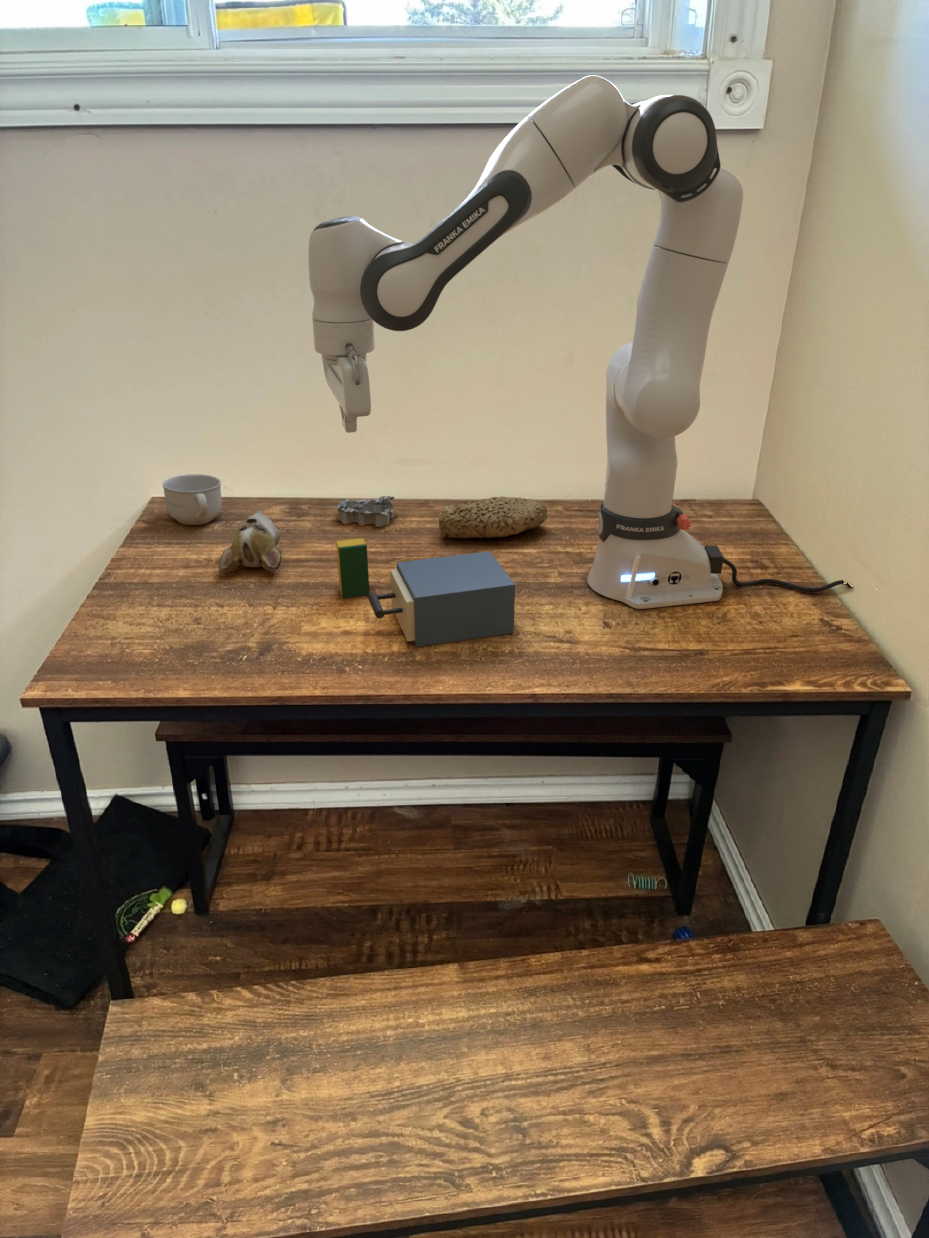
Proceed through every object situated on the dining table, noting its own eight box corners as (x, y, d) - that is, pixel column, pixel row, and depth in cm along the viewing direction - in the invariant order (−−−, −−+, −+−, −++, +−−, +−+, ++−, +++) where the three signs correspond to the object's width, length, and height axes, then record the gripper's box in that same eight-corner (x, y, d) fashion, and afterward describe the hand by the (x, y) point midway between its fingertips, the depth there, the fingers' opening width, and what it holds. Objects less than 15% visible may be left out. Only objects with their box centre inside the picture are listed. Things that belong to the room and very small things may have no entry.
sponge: (441, 551, 164) (547, 536, 161) (433, 511, 162) (541, 494, 158) (452, 536, 177) (551, 521, 173) (445, 497, 174) (544, 481, 171)
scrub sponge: (366, 586, 149) (363, 537, 145) (369, 595, 146) (366, 545, 142) (339, 590, 148) (336, 541, 144) (342, 598, 145) (339, 548, 141)
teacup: (168, 512, 177) (162, 474, 174) (223, 506, 180) (218, 469, 176) (169, 539, 166) (162, 499, 162) (228, 532, 169) (223, 493, 165)
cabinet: (416, 647, 132) (415, 597, 128) (398, 609, 142) (396, 562, 138) (513, 633, 136) (515, 584, 131) (489, 597, 146) (490, 551, 142)
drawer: (380, 645, 130) (378, 605, 127) (365, 610, 140) (363, 573, 137) (499, 628, 135) (500, 589, 132) (477, 595, 144) (478, 558, 141)
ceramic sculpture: (287, 501, 159) (273, 540, 146) (293, 544, 164) (279, 585, 151) (228, 502, 159) (209, 540, 146) (235, 544, 163) (217, 585, 151)
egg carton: (397, 515, 177) (397, 496, 175) (385, 529, 170) (384, 509, 168) (347, 509, 179) (346, 490, 177) (334, 523, 173) (332, 504, 171)
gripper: (379, 351, 121) (383, 448, 128) (353, 324, 139) (358, 410, 145) (333, 354, 120) (340, 452, 127) (313, 326, 137) (320, 413, 144)
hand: (349, 429), depth 136 cm, fingers closed
